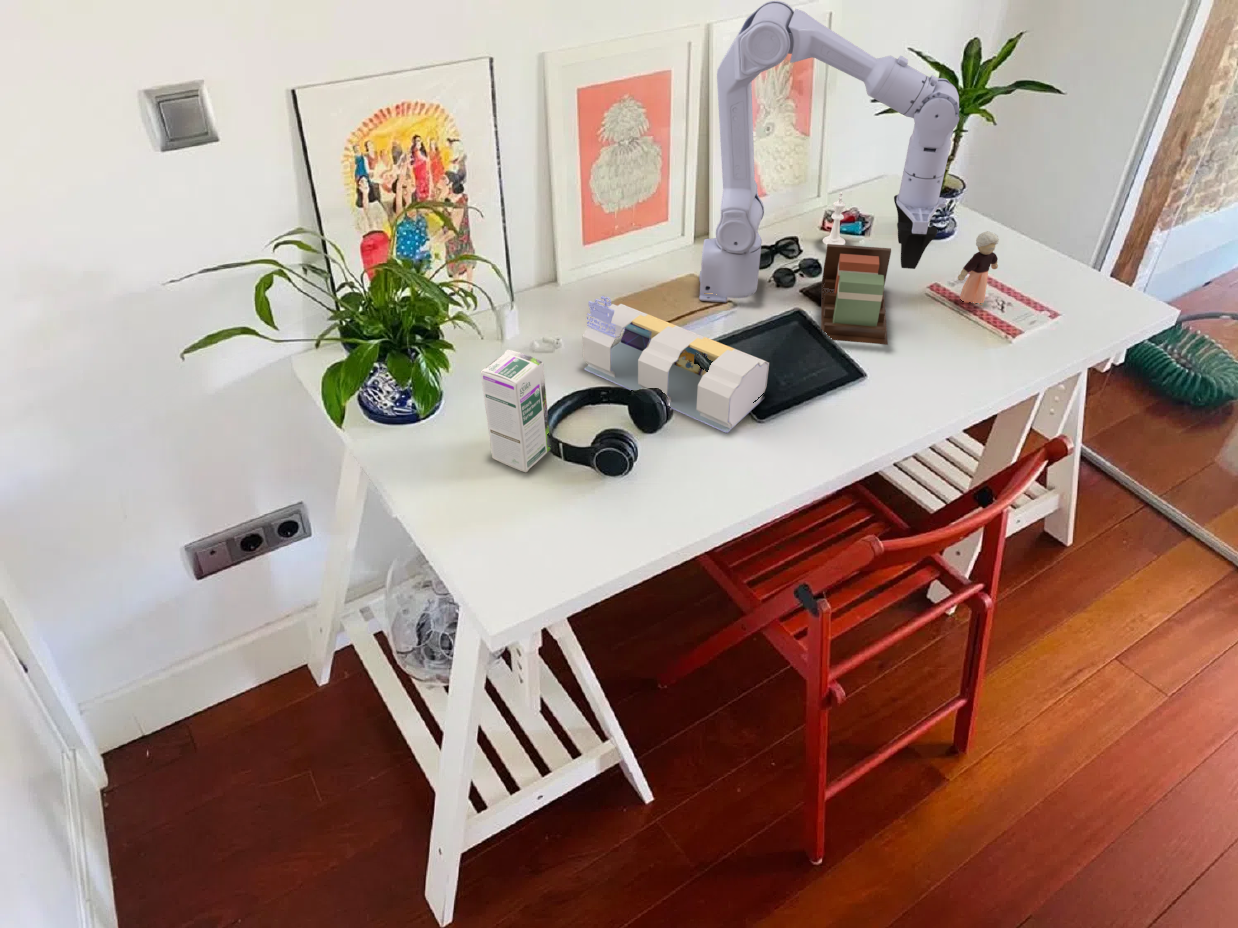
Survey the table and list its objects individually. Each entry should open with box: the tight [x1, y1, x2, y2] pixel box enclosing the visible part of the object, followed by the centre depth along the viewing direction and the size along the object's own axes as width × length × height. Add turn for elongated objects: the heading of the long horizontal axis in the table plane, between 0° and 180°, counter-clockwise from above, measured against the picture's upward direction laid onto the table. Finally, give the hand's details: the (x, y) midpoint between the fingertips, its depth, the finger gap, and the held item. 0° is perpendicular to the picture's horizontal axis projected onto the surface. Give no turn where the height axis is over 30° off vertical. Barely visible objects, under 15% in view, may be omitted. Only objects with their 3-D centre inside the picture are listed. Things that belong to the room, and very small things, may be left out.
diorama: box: [582, 295, 770, 434], centre depth 140 cm, size 25×10×13 cm, turn 53°
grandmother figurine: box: [957, 230, 1000, 307], centre depth 156 cm, size 8×4×13 cm, turn 129°
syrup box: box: [480, 349, 551, 473], centre depth 128 cm, size 6×6×14 cm
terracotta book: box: [834, 254, 879, 293], centre depth 158 cm, size 6×3×7 cm, turn 81°
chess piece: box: [822, 191, 846, 246], centre depth 172 cm, size 5×5×10 cm
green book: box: [833, 272, 885, 326], centre depth 151 cm, size 6×3×8 cm, turn 81°
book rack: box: [820, 244, 892, 346], centre depth 155 cm, size 10×17×8 cm, turn 171°
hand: (906, 255), depth 152 cm, fingers open, 7 cm apart
